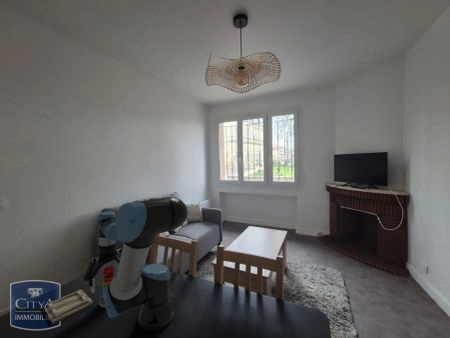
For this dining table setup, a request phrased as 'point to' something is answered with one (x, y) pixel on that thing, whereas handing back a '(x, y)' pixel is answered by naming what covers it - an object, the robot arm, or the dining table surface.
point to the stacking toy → (106, 281)
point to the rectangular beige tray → (67, 306)
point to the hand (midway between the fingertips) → (108, 285)
